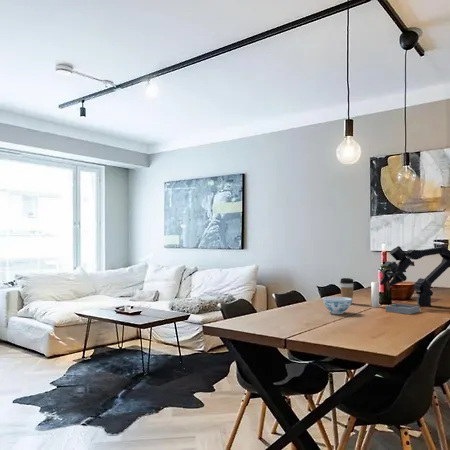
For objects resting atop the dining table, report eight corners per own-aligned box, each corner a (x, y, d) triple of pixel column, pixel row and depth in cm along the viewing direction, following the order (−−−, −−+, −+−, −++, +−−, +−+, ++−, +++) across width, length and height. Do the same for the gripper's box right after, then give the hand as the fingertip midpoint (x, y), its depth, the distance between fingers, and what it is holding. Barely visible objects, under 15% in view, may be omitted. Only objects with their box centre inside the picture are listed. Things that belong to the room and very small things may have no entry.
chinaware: (355, 315, 230) (355, 300, 230) (326, 315, 230) (326, 300, 230) (347, 310, 245) (347, 296, 245) (319, 310, 245) (319, 296, 245)
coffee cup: (352, 302, 277) (352, 278, 277) (355, 304, 269) (355, 279, 269) (339, 302, 278) (338, 278, 278) (341, 304, 269) (341, 279, 270)
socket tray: (395, 308, 252) (395, 303, 252) (419, 311, 243) (419, 306, 243) (385, 311, 242) (385, 306, 243) (409, 314, 233) (409, 308, 233)
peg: (377, 306, 261) (377, 282, 262) (379, 307, 257) (379, 282, 258) (370, 306, 262) (370, 282, 262) (372, 307, 258) (372, 282, 258)
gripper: (385, 255, 272) (367, 274, 270) (401, 257, 253) (383, 276, 251) (397, 268, 272) (380, 287, 270) (414, 271, 254) (396, 290, 252)
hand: (384, 285), depth 261 cm, fingers open, 9 cm apart
